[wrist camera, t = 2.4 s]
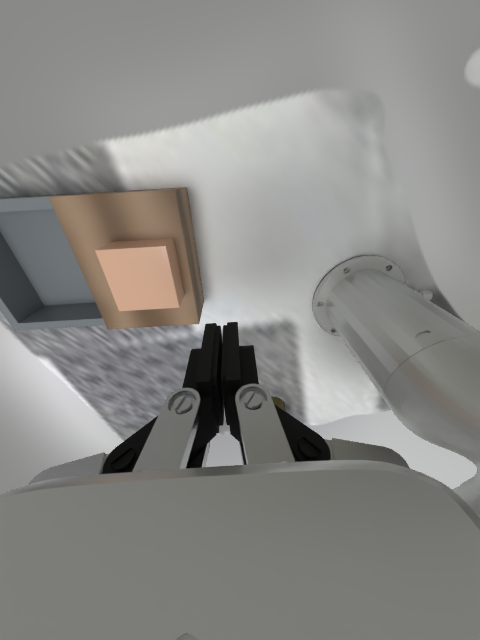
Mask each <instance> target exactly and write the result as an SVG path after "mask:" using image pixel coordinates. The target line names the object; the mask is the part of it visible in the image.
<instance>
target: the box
mask: <svg viewBox="0 0 480 640" xmlns="http://www.w3.org/2000/svg"><path fill="white" fill-rule="evenodd" d="M81 194H83V193H81ZM64 195H73V194H64ZM53 196H63V195H46V196H29V197H12V198H0V311H1V312H2V314H3V315H4V316H5V318H6V319H7V320H8V322H9V323H10V325H11V326H12V327H13V329H14V330H15V331H16V330H33V329H49V328H66V327H83V326H99V325H106V324H105V322H104V320H103V318H102V315H101V313H100V311H99V309H98V306H97V304H96V302H95V300H94V298H93V295H92V293H91V291H90V289H89V286H88V284H87V282H86V280H85V278H84V275H83V273H82V271H81V269H80V267H79V264H78V262H77V260H76V258H75V255H74V253H73V251H72V249H71V247H70V244H69V242H68V240H67V238H66V235H65V233H64V231H63V229H62V227H61V224H60V222H59V220H58V218H57V216H56V213H55V211H54V209H53V207H52V204H51V202H50V200H49V198H48V197H53Z"/></svg>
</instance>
